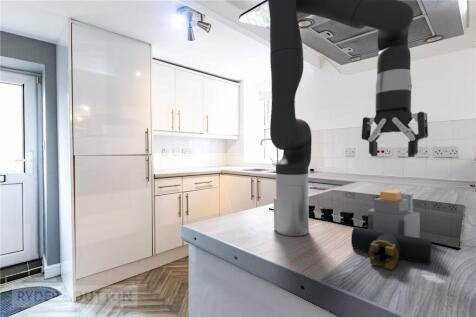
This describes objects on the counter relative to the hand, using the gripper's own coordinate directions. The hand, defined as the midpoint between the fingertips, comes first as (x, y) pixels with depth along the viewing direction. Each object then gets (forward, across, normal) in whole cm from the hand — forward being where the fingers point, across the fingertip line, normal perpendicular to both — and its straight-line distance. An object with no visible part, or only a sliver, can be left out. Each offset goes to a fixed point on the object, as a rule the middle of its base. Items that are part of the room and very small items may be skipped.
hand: (391, 156), depth 63 cm
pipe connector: (+22, +3, -11) cm, 25 cm away
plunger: (+12, 0, 0) cm, 12 cm away
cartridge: (+21, 0, +4) cm, 22 cm away
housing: (+22, 0, +2) cm, 22 cm away
